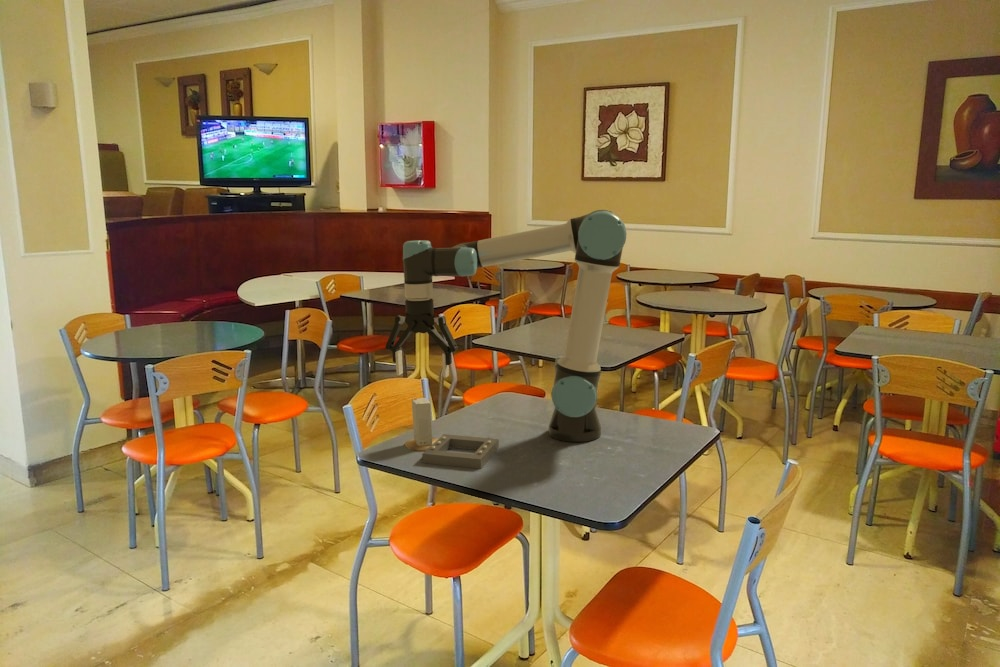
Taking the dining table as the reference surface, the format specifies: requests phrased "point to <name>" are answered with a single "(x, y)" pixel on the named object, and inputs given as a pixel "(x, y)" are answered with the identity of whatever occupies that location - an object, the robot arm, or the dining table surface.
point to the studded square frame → (476, 460)
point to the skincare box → (422, 421)
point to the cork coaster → (413, 445)
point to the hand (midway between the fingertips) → (422, 375)
